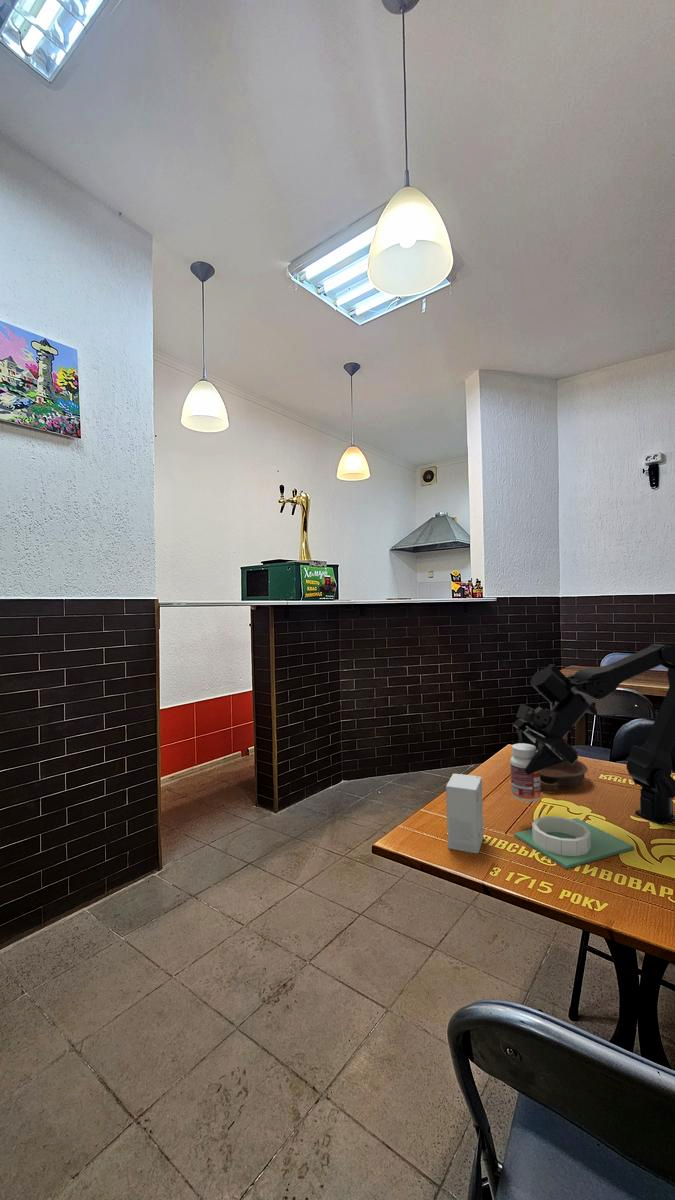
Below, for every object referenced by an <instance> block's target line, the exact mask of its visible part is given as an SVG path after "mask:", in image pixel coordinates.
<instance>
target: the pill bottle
mask: <svg viewBox="0 0 675 1200" xmlns="http://www.w3.org/2000/svg"><path fill="white" fill-rule="evenodd" d="M536 753H537V751H536V747H535V746H534V745H531V744H524V743H518V742H517V743H514V744H512V746H511V754H512V756H511V758H510V760H509V761H510V763H509V764H510V781H511V782H510V784H511V785H510V786H511V796H512V797H513V798H514V799H516V800H518V801H522V802H527V803H529V802H530V803H531V802H538V801H539V800H540V799H541V797H542V794H541V793H542V792H541V790H542V788H541V787H540V770H539V771H537V772H534V773H532V774H529V775H528V774H527V773H526V772H525V769H526V767H527V766H528V764H529V763H530V761H531V760H532V758H533V757H534V756H535V754H536ZM513 755H514V756H513Z"/></svg>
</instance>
